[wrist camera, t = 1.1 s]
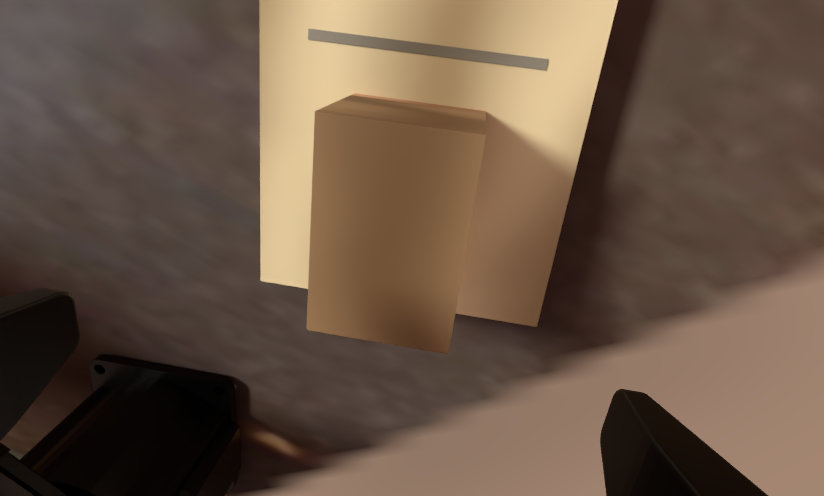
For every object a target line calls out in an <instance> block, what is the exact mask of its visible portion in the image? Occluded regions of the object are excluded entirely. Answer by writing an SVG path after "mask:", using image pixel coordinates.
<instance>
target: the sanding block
mask: <svg viewBox="0 0 824 496" xmlns="http://www.w3.org/2000/svg"><path fill="white" fill-rule="evenodd" d="M485 139H486V111H481V110H474V109H466V108H459V107H452V106H444V105H437V104H430V103H422V102H415V101H408V100H400V99H393V98H386V97H379V96H371V95H364V94H357V93H354V94H352V95H350V96H348V97H345V98H343V99H341V100H339V101H336V102H334V103H332V104H330V105H328V106H325V107H323V108H321V109H319V110H316V111H315V120H314V147H313V173H312V199H311V226H310V252H309V278H308V304H307V330H311V331H317V332H322V333H328V334H334V335H340V336H346V337H351V338H357V339H363V340H369V341H374V342H380V343H386V344H392V345H397V346H403V347H409V348H415V349H421V350H426V351H432V352H438V353H444V354H448V353H449V348H450V342H451V336H452V330H453V324H454V319H455V313H456V307H457V301H458V295H459V290H460V284H461V278H462V272H463V266H464V261H465V255H466V249H467V243H468V238H469V232H470V226H471V220H472V214H473V209H474V203H475V197H476V191H477V185H478V180H479V174H480V168H481V162H482V156H483V151H484V145H485Z"/></svg>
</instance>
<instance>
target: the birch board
mask: <svg viewBox="0 0 824 496" xmlns="http://www.w3.org/2000/svg"><path fill="white" fill-rule="evenodd" d="M617 3H618V0H260V230H261V281H264V282H270V283H276V284H282V285H288V286H294V287H300V288H306V289H308V278H309V252H310V226H311V199H312V173H313V147H314V120H315V111H316V110H319V109H321V108H323V107H325V106H328V105H330V104H332V103H334V102H336V101H339V100H341V99H343V98H345V97H348V96H350V95H352V94H354V93H357V94H364V95H371V96H379V97H386V98H393V99H400V100H408V101H415V102H422V103H430V104H437V105H444V106H452V107H459V108H466V109H474V110H481V111H486V139H485V145H484V151H483V156H482V162H481V168H480V174H479V180H478V185H477V191H476V197H475V203H474V209H473V214H472V220H471V226H470V232H469V238H468V243H467V249H466V255H465V261H464V266H463V272H462V278H461V284H460V290H459V295H458V301H457V307H456V314H462V315H468V316H474V317H480V318H486V319H492V320H498V321H504V322H510V323H516V324H522V325H528V326H534V327H537V324H538V320H539V316H540V312H541V308H542V304H543V300H544V296H545V292H546V288H547V284H548V280H549V276H550V272H551V268H552V264H553V260H554V256H555V252H556V248H557V244H558V240H559V236H560V232H561V228H562V224H563V220H564V216H565V212H566V208H567V204H568V200H569V196H570V192H571V188H572V184H573V180H574V176H575V172H576V168H577V164H578V160H579V156H580V152H581V148H582V144H583V140H584V136H585V132H586V128H587V124H588V120H589V116H590V112H591V108H592V104H593V100H594V96H595V92H596V88H597V84H598V80H599V76H600V71H601V67H602V63H603V59H604V55H605V51H606V47H607V43H608V39H609V35H610V31H611V27H612V23H613V19H614V15H615V11H616V7H617Z"/></svg>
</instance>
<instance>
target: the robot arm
mask: <svg viewBox="0 0 824 496" xmlns="http://www.w3.org/2000/svg"><path fill="white" fill-rule="evenodd" d="M79 336H80V334H79V327H78V321H77V314H76V308H75V302H74V299H73V297H72V296H71V294H69V293H67V292H64V291H58V290H53V289H47V288H46V289H37V290H33V291H28V292H24V293H19V294H15V295H10V296H5V297H1V298H0V441H1V439H2V438H3V437H4V436H5V435H6V434H7V433H8V432H9V431H10V430H11V429H12V427H13V426H14V425H15V424H16V423H17V422H18V420H19V419H20V418H21V417H22V416H23V414H24V413H25V412H26V411H27V409H28V408H29V407H30V406H31V404H32V403H33V402H34V401H35V399H36V398H37V397H38V396H39V394H40V393H41V392H42V390H43V389H44V388H45V387H46V385H47V384H48V383H49V382H50V380H51V379H52V378H53V376H54V375H55V374H56V373H57V371H58V370H59V369H60V368H61V366H62V365H63V364H64V363H65V361H66V360H67V359H68V357H69V356H70V355H71V354H72V352H73V351H74V350H75V348H76V346H77V344H78V341H79ZM89 370H90V376H91V382H92V388H93V393H92V394H91V395H90V396H89V397H88V398H87V399H86V400H84V401H83V402H82V403H81V404H80V405H79V406H78V407H77V408H76V409H75V410H74V411H72V412H71V413H70V414H69V415H68V416H67V417H66V418H65V419H64V420H63V421H62V422H60V423H59V424H58V425H57V426H56V427H55V428H54V429H53V430H52V431H51V432H49V433H48V434H47V435H46V436H45V437H44V438H43V439H42V440H41V441H40V442H39V443H37V444H36V445H35V446H34V447H33V448H32V449H31V450H30V451H29V452H28V453H27V454H25V455H24V456H23V457H22V458H21V459H20V460H19V459H17V458H16V457H15V456H13V455H12V454H10V453H9V451H10V449H9V448H8V447H6V446H5V445H3V444H2V443H0V496H225V494H226V492H229V491H231V490H232V489H233V488H234V486H235V484H236V482H237V473H238V471H239V469H240V467H241V458H240V427H239V425H238V423H237V422H236V416H235V387H234V384H233V382H232V381H231V380H230V379H229V378H227V377H224V376H219V375H213V374H208V373H202V372H197V371H191V370H186V369H180V368H175V367H169V366H164V365H158V364H153V363H147V362H142V361H136V360H131V359H126V358H120V357H115V356H109V355H99V356H97V357H96V358H94V359H93V360H92V361H91V362H90V363H89ZM219 387H221V388H223V389H224V390H222V389H220V388H219ZM600 444H601V453H602V462H603V470H604V479H605V487H606V496H768V495H767V494H766V493H764V492H763V491H762V490H761V489H759V488H758V487H757V486H756V485H755V484H753V483H752V482H751V481H750V480H749V479H748V478H746V477H745V476H744V475H743V474H742V473H740V472H739V471H738V470H737V469H736V468H734V467H733V466H732V465H731V464H730V463H728V462H727V461H726V460H725V459H724V458H722V457H721V456H720V455H719V454H718V453H716V452H715V451H714V450H713V449H711V448H710V447H709V446H708V445H707V444H706V443H704V442H703V441H702V440H701V439H699V438H698V437H697V436H696V435H695V434H693V432H691V431H690V430H689V429H687V428H686V427H685V426H684V425H683V424H682V423H680V422H679V421H678V420H677V419H676V418H675V417H673V416H672V415H671V414H670V413H668V412H667V411H666V410H665V409H664V408H663V407H661V406H660V405H659V404H658V403H656V402H655V401H654V400H653V399H652V398H651V397H649V396H648V395H647V394H645V393H642V392H636V391H630V390H625V389H620V390H618V391H616V393H615V394H614V396H613V398H612V401H611V404H610V407H609V410H608V413H607V416H606V419H605V421H604V424H603V427H602V431H601V438H600Z"/></svg>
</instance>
